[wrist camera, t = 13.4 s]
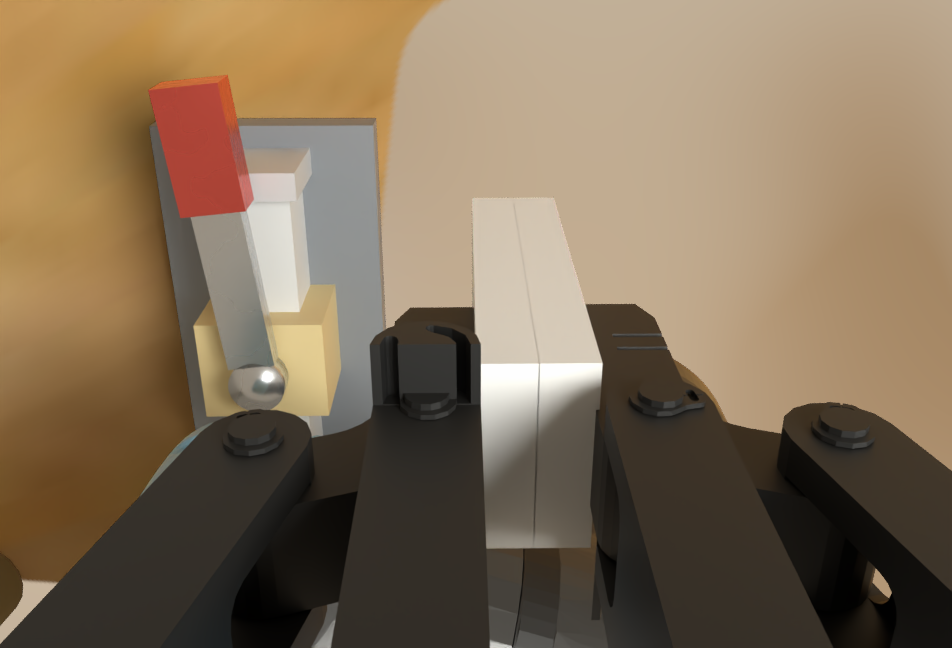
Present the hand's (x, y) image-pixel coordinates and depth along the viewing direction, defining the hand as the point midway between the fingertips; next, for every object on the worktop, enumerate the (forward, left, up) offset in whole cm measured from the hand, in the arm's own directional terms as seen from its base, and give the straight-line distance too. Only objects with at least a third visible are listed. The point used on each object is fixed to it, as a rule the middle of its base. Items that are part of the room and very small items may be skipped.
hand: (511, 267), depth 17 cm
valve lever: (-7, +11, -20) cm, 24 cm away
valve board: (-13, +10, -26) cm, 31 cm away
